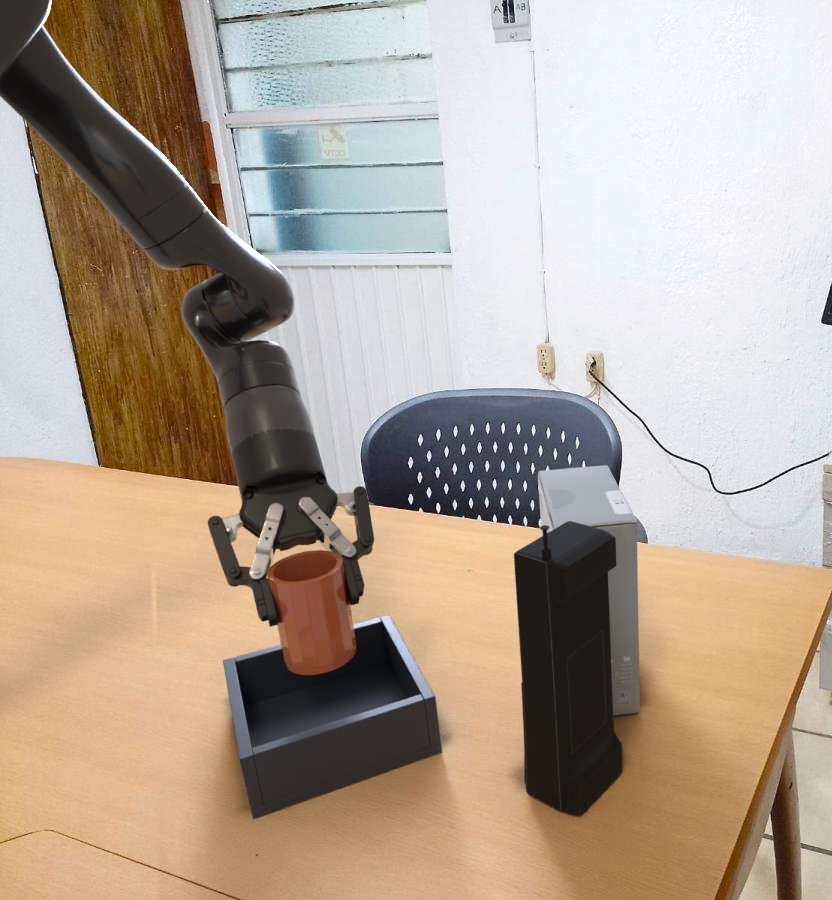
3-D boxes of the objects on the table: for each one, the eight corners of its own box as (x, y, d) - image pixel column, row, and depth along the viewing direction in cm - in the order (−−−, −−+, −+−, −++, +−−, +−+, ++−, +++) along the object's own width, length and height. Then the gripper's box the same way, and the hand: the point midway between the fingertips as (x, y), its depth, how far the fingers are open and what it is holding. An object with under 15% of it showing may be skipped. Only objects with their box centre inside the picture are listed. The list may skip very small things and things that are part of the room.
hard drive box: (642, 715, 78) (638, 522, 72) (562, 725, 77) (550, 531, 71) (613, 628, 93) (607, 462, 86) (545, 636, 92) (534, 468, 85)
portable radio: (575, 739, 75) (562, 484, 67) (631, 764, 72) (623, 499, 64) (519, 791, 69) (496, 519, 61) (577, 821, 66) (561, 537, 58)
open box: (252, 819, 67) (239, 759, 65) (234, 712, 81) (222, 659, 79) (442, 752, 74) (435, 696, 72) (396, 664, 88) (389, 614, 86)
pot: (290, 683, 71) (272, 591, 68) (280, 648, 76) (263, 561, 73) (363, 661, 74) (348, 571, 71) (348, 629, 79) (334, 544, 76)
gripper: (185, 441, 71) (222, 623, 65) (353, 412, 78) (402, 576, 72) (194, 478, 78) (229, 648, 72) (349, 449, 84) (393, 603, 78)
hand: (315, 611), depth 72 cm, fingers closed on pot, 6 cm apart
